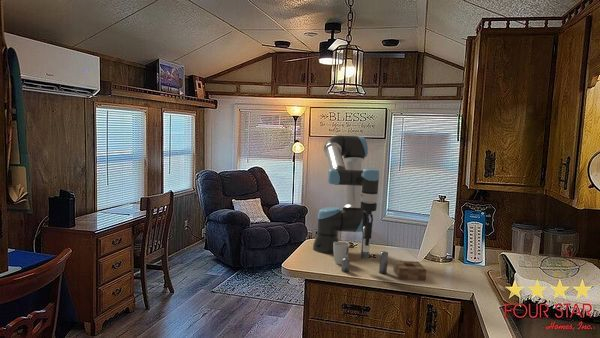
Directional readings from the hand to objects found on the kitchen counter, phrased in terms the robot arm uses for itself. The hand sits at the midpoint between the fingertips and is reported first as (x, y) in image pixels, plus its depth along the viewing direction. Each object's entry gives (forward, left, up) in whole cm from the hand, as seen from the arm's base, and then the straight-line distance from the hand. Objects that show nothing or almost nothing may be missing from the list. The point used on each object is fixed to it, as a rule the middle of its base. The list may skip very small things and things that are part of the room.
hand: (365, 250), depth 205 cm
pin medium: (+1, +9, -10) cm, 14 cm away
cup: (-11, -10, -11) cm, 19 cm away
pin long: (0, 0, -4) cm, 4 cm away
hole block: (+3, +21, -10) cm, 24 cm away
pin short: (+1, -9, -10) cm, 14 cm away
